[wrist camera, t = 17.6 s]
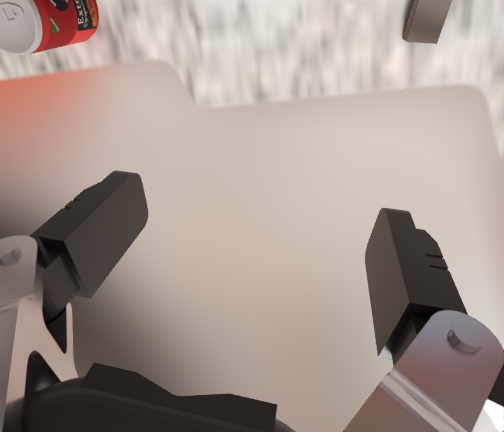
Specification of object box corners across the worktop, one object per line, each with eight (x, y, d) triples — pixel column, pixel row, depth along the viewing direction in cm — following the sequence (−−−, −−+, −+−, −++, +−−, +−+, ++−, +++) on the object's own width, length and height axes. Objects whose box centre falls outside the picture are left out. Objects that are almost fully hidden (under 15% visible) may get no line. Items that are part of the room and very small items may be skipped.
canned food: (112, 26, 40) (52, 37, 31) (71, 51, 43) (6, 67, 34) (72, -45, 36) (-8, -54, 27) (30, -12, 39) (-54, -11, 30)
